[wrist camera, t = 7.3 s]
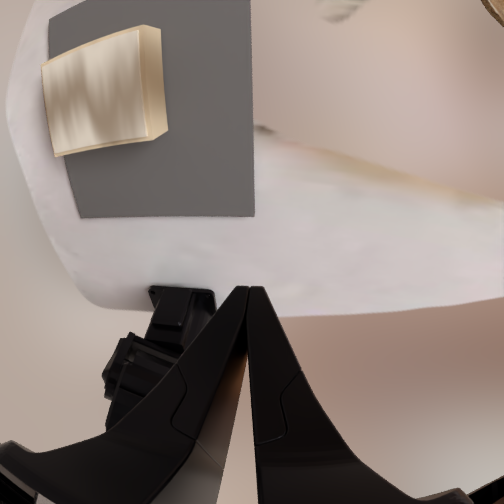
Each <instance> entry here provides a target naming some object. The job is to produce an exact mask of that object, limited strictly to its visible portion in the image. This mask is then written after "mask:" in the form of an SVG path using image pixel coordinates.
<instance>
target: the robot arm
mask: <svg viewBox="0 0 504 504" xmlns="http://www.w3.org/2000/svg"><path fill="white" fill-rule="evenodd" d="M148 292H149V295H150V298H151V301H152V303H153V306H154V309H155V310H154V313H153V316H152V318H151V322H150V324H149V327H148V330H147V332H146V334H145V338H144V339H143V338H141V337H139V336H136V335H135V334H134V333H132V332H129V334H128V336H127V338H120V340H119V343H118V345H117V347H116V349H115V351H114V354H113V355H112V357H111V359H110V360H109V362H108V364H107V365H106V367H105V369H104V371H103V373H102V378H103V380H104V383H105V387H104V388H105V389H106V390H105V394H104V397H105V398H106V399H108V400H111V401H112V402H111V405H110V408H109V412H108V415H107V419H106V423H105V426H106V432H105V433H103V434H101V435H99V436H96V437H94V438H90V439H88V440H84V441H82V442H78V443H75V444H72V445H69V446H65V447H62V448H58V449H55V450H51V451H47V452H42V453H35V452H33V451H31V450H29V449H27V448H25V447H24V446H22V445H20V444H18V443H17V442H15V441H12V440H10V441H8V442H5V443H3V444H1V443H0V504H216V502H217V498H218V493H219V489H220V485H221V480H222V476H223V471H224V470H223V469H224V467H225V462H226V458H227V453H228V448H229V444H230V439H231V435H232V429H233V425H234V420H235V416H236V411H237V406H238V401H239V396H240V392H241V387H242V382H243V377H244V372H245V367H246V362H247V357H248V365H249V378H250V393H251V408H252V421H253V436H254V447H255V448H254V449H255V462H256V478H257V492H258V493H257V494H258V504H504V475H503V476H501V477H500V478H498V479H496V480H494V481H492V482H490V483H488V484H486V485H484V486H482V487H480V488H478V489H476V490H475V491H473V492H471V493H469V494H467V495H466V494H465V493H464V492H463V491H462V490H461V489H460V488H454V489H450V490H448V491H444V492H441V493H437V494H433V495H429V496H426V497H421V498H417V499H414V498H412V497H410V496H408V495H406V494H405V493H404V492H402V491H401V490H399V489H398V488H396V487H395V486H394V485H392V484H391V483H389V482H388V481H387V480H385V479H384V478H383V477H381V476H380V475H378V474H377V473H376V472H374V471H373V470H372V469H371V468H369V467H368V466H367V465H365V464H364V463H363V462H362V461H361V460H360V459H359V458H358V457H357V456H356V455H355V454H354V453H353V452H352V450H351V449H350V448H349V447H348V445H347V444H346V442H345V441H344V440H343V439H342V437H341V435H340V434H339V432H338V431H337V430H336V428H335V426H334V425H333V423H332V422H331V420H330V419H329V417H328V416H327V414H326V413H325V411H324V410H323V408H322V406H321V405H320V403H319V402H318V400H317V399H316V397H315V395H314V393H313V391H312V389H311V387H310V385H309V383H308V381H307V379H306V377H305V375H304V373H303V371H301V367H300V364H299V363H298V360H297V358H296V356H295V354H294V351H293V349H292V347H291V345H290V343H289V340H288V338H287V336H286V334H285V332H284V330H283V327H282V325H281V323H280V321H279V319H278V317H277V314H276V312H275V310H274V308H273V306H272V304H271V301H270V299H269V297H268V295H267V293H266V291H265V288H264V287H263V286H251V287H249V286H236V287H235V288H234V289H233V291H232V292H231V293H230V295H229V296H228V297H227V298H226V300H225V301H224V302H223V303H222V305H221V306H220V307H219V309H218V310H217V306H216V300H215V294H214V292H213V291H212V290H206V289H190V288H175V287H161V286H151V287H150V288H149V290H148ZM209 295H210V296H209Z"/></svg>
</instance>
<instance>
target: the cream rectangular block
mask: <svg viewBox="0 0 504 504" xmlns="http://www.w3.org/2000/svg"><path fill="white" fill-rule="evenodd" d="M41 75H42V86H43V94H44V102H45V109H46V116H47V122H48V127H49V133H50V138H51V143H52V147H53V152H54V156H55V157H58V156H63V155H67V154H71V153H76V152H81V151H86V150H91V149H96V148H102V147H108V146H114V145H120V144H127V143H134V142H142V141H150V140H154V139H156V138H157V137H159V136H160V135H162V134H163V133H165V132H167V131H168V124H167V114H166V104H165V93H164V80H163V66H162V47H161V29H158V28H155V27H151V26H148V25H144V24H143V25H140V26H136V27H132V28H129V29H126V30H122V31H119V32H116V33H113V34H110V35H107V36H104V37H101V38H99V39H96V40H93V41H91V42H88V43H86V44H83V45H81V46H78V47H76V48H74V49H72V50H69V51H67V52H65V53H63V54H61V55H59V56H56V57H54V58H52V59H50V60H48V61H46V62H45V63H43V64H41Z"/></svg>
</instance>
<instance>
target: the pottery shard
mask: <svg viewBox="0 0 504 504" xmlns="http://www.w3.org/2000/svg"><path fill="white" fill-rule="evenodd" d="M481 1H482V3H483V5H484V6H485V8H486V9H487V11H488V12H489V13H490V14H491V15H492V16H493V17H494V18H495V19H496V20H497V21H498V22H499V23H500V24H501V25H502V26H503V27H504V0H481Z"/></svg>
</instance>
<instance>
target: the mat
mask: <svg viewBox="0 0 504 504" xmlns="http://www.w3.org/2000/svg"><path fill="white" fill-rule="evenodd" d="M250 8H251V5H250V0H86V1H84V2H82V3H79V4H77V5H75V6H73V7H71V8H69V9H67V10H66V11H64V12H62V13H60V14H58V15H56V16H54V17H53V18H51V19H49V56H50V59H52V58H54V57H56V56H59V55H61V54H63V53H65V52H67V51H69V50H72V49H74V48H76V47H78V46H81V45H83V44H86V43H88V42H91V41H93V40H96V39H99V38H101V37H104V36H107V35H110V34H113V33H116V32H119V31H122V30H126V29H129V28H132V27H136V26H140V25H143V24H144V25H148V26H151V27H155V28H158V29H161V47H162V66H163V80H164V93H165V104H166V114H167V124H168V131H167V132H165V133H163V134H162V135H160V136H159V137H157V138H156V139H154V140H150V141H142V142H134V143H127V144H120V145H114V146H108V147H102V148H96V149H91V150H86V151H81V152H76V153H71V154H67V155H64V159H65V164H66V168H67V172H68V175H69V179H70V183H71V187H72V190H73V193H74V197H75V200H76V203H77V207H78V210H79V213H80V216H81V218H103V217H145V216H238V217H254V214H255V199H254V143H253V93H252V48H251V9H250Z"/></svg>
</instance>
